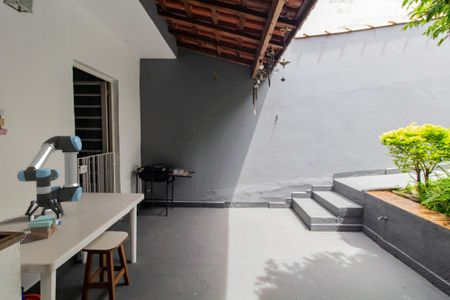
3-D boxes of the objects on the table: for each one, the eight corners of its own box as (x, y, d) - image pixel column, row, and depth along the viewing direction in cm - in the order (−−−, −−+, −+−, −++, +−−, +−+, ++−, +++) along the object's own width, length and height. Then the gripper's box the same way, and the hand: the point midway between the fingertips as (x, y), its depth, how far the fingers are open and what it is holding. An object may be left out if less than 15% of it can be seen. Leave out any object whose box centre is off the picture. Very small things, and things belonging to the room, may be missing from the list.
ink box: (59, 222, 176) (58, 207, 175) (61, 224, 173) (61, 208, 172) (44, 226, 169) (44, 209, 168) (47, 227, 166) (46, 211, 165)
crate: (41, 231, 160) (41, 219, 159) (57, 230, 162) (56, 218, 162) (30, 239, 146) (30, 227, 146) (47, 238, 148) (47, 226, 148)
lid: (40, 221, 159) (40, 215, 159) (58, 220, 162) (58, 214, 162) (28, 230, 145) (28, 223, 145) (49, 228, 148) (48, 222, 148)
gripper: (17, 195, 146) (18, 228, 147) (63, 193, 152) (64, 225, 153) (24, 192, 153) (24, 224, 154) (67, 190, 160) (68, 221, 161)
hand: (44, 224), depth 154 cm, fingers open, 13 cm apart
